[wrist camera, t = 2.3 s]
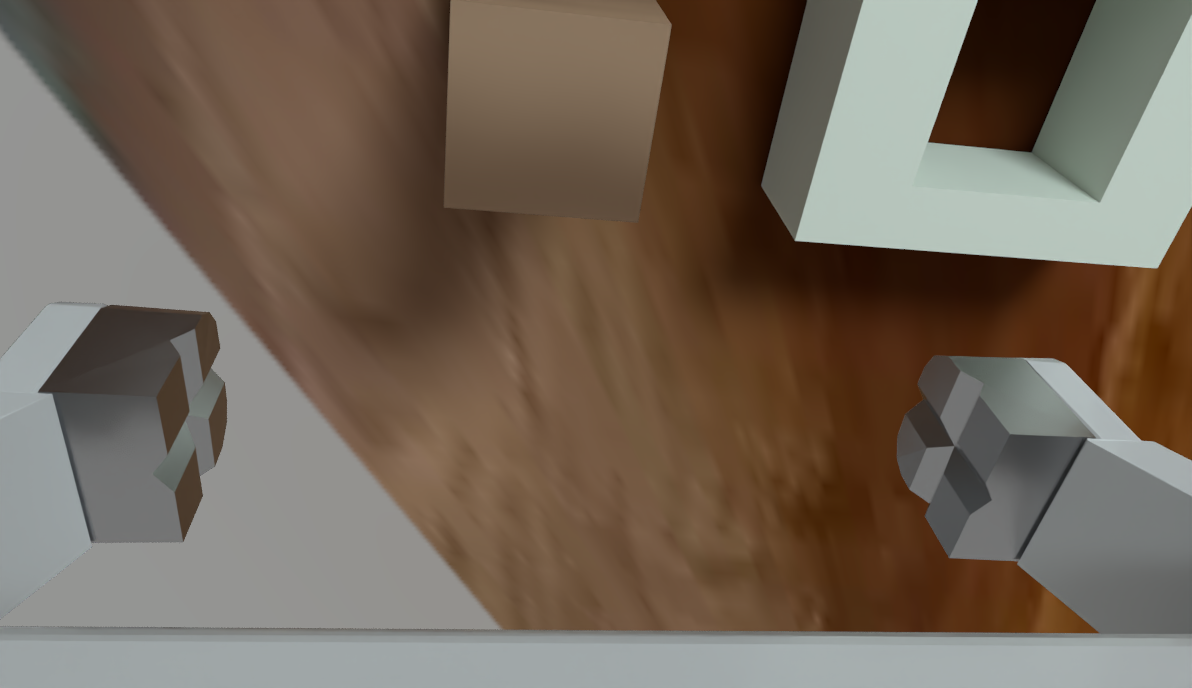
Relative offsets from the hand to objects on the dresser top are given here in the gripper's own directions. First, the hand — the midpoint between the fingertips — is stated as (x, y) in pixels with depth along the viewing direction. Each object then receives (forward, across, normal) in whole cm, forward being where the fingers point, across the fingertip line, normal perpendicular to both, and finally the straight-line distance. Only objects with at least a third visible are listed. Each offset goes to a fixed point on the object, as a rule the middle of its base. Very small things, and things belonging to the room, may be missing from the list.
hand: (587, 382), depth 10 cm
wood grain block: (+18, 0, 0) cm, 18 cm away
